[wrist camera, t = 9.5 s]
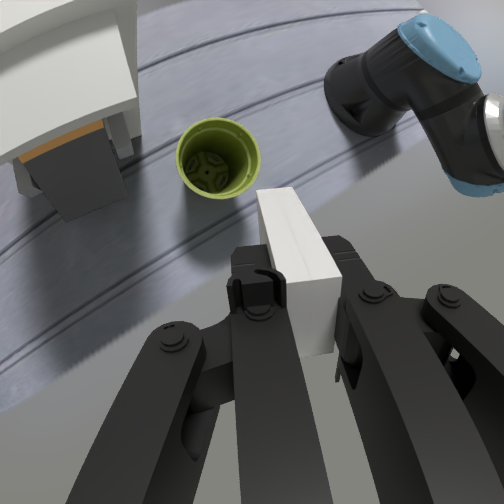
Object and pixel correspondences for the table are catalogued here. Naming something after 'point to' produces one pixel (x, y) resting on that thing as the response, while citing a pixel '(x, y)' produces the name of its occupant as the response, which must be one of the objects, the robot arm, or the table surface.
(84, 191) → the breaker switch
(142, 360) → the robot arm
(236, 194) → the plant pot
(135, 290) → the table surface
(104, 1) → the box
